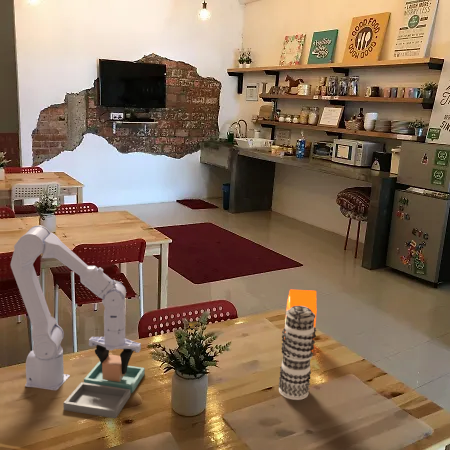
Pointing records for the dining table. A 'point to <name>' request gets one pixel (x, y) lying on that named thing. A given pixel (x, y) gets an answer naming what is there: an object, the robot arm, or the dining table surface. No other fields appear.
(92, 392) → the grey bin
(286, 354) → the decorative candle
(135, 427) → the dining table surface
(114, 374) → the terracotta block
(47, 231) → the robot arm
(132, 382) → the teal bin
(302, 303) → the orange juice
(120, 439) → the dining table surface
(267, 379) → the dining table surface
